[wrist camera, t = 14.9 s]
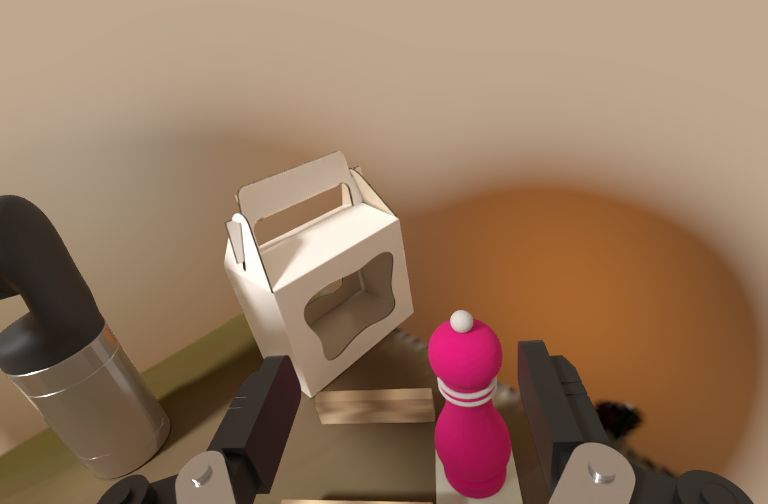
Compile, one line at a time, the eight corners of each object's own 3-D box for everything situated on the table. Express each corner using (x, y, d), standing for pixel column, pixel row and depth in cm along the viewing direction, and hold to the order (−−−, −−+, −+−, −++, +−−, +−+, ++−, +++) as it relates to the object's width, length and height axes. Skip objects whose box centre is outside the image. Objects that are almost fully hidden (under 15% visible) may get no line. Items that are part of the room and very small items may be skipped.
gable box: (362, 289, 72) (329, 142, 59) (415, 312, 63) (389, 145, 50) (261, 359, 59) (189, 191, 46) (310, 400, 50) (237, 207, 37)
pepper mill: (454, 516, 35) (432, 356, 26) (429, 447, 41) (404, 299, 32) (526, 491, 36) (529, 328, 26) (490, 427, 42) (483, 278, 33)
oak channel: (289, 540, 36) (276, 517, 34) (324, 413, 48) (317, 391, 46) (437, 545, 33) (432, 521, 31) (435, 411, 45) (431, 388, 44)
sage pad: (436, 514, 35) (436, 513, 35) (435, 429, 43) (435, 427, 43) (525, 516, 34) (525, 515, 34) (507, 428, 42) (507, 426, 42)
